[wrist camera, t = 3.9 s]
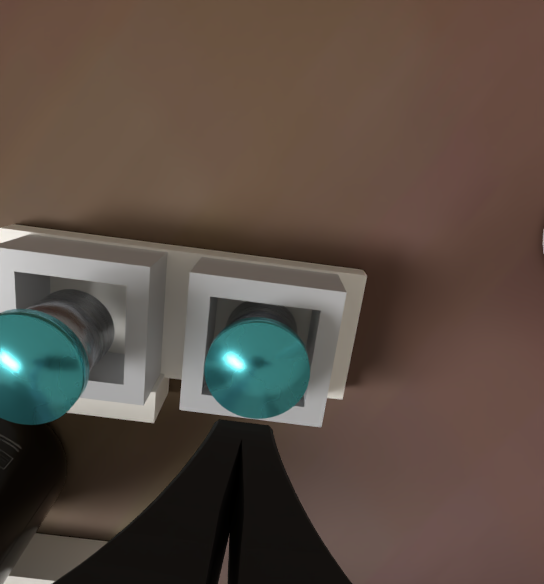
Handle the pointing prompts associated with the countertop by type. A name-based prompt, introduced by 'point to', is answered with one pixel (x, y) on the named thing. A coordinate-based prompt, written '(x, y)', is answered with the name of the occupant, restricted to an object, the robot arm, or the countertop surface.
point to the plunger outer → (258, 362)
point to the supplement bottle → (26, 485)
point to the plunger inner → (50, 354)
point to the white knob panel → (172, 332)
